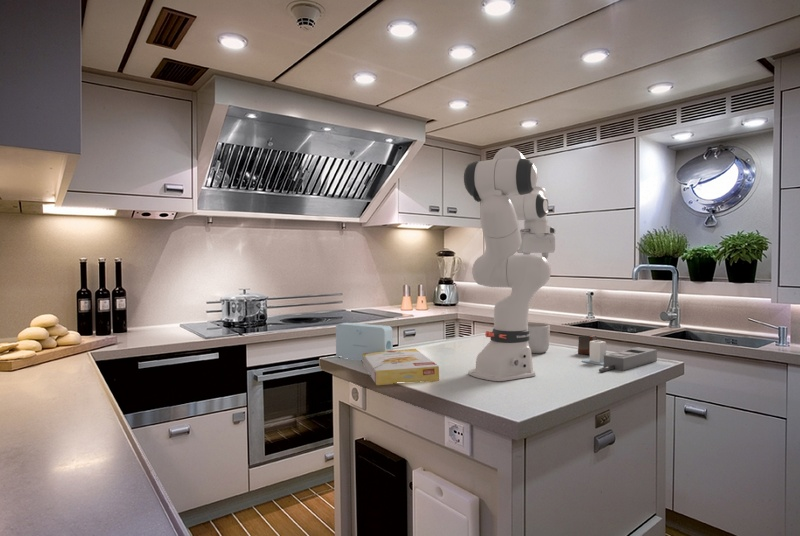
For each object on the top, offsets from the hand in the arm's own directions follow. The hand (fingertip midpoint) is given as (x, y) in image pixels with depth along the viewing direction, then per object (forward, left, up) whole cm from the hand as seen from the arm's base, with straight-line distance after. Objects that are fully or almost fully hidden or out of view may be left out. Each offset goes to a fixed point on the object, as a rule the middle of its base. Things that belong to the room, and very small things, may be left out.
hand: (536, 264), depth 189 cm
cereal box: (-60, +11, -36) cm, 71 cm away
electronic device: (+15, -14, -36) cm, 41 cm away
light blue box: (-57, +37, -36) cm, 76 cm away
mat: (+5, -23, -35) cm, 42 cm away
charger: (+5, -23, -35) cm, 42 cm away
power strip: (+7, -32, -35) cm, 48 cm away
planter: (+4, +4, -35) cm, 36 cm away
